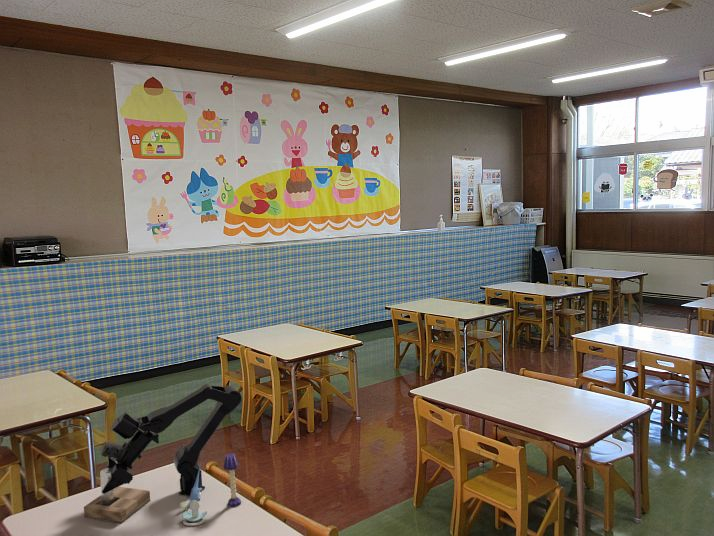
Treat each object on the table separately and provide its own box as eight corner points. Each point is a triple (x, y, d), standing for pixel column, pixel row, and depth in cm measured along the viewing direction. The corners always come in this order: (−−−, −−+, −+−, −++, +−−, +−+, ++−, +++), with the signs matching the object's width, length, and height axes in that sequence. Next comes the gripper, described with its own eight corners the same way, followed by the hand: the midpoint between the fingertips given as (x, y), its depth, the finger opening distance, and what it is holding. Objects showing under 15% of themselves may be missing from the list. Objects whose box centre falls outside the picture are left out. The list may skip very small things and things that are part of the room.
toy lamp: (237, 508, 189) (234, 458, 187) (223, 507, 190) (220, 457, 188) (243, 500, 193) (240, 451, 191) (229, 499, 194) (226, 451, 192)
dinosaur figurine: (191, 512, 195) (178, 510, 186) (200, 464, 201) (188, 460, 192) (199, 512, 194) (186, 510, 186) (208, 465, 200) (196, 461, 192)
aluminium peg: (117, 506, 191) (115, 468, 190) (112, 513, 187) (110, 473, 186) (105, 506, 191) (103, 467, 190) (99, 512, 187) (97, 473, 186)
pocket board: (150, 500, 195) (149, 490, 195) (121, 523, 182) (120, 512, 182) (115, 495, 199) (114, 486, 199) (84, 517, 186) (83, 506, 186)
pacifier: (202, 527, 179) (209, 516, 185) (201, 508, 178) (207, 497, 184) (179, 527, 179) (186, 516, 185) (177, 508, 178) (184, 497, 184)
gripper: (113, 423, 197) (79, 462, 193) (118, 443, 180) (81, 486, 176) (140, 441, 201) (107, 479, 197) (147, 462, 184) (112, 504, 181)
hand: (101, 487), depth 188 cm, fingers open, 8 cm apart
